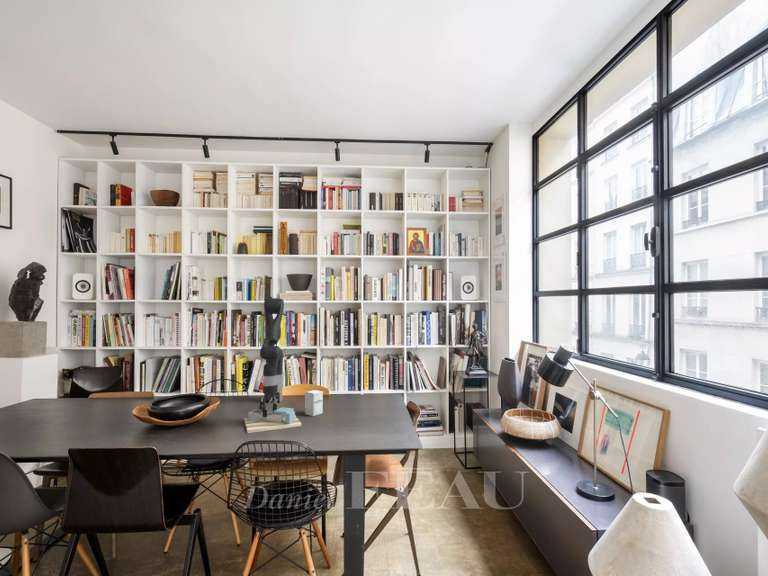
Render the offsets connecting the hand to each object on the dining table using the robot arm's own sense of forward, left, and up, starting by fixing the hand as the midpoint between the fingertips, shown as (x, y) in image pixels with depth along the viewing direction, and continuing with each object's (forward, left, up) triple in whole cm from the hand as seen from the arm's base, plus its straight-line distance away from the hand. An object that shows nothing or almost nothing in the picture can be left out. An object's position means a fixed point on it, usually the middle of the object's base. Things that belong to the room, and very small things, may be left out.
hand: (269, 414), depth 200 cm
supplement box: (-6, +25, -4) cm, 26 cm away
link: (-1, -1, -3) cm, 3 cm away
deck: (+2, +1, -4) cm, 5 cm away
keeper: (+6, +6, -4) cm, 10 cm away
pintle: (-5, -5, -4) cm, 8 cm away
